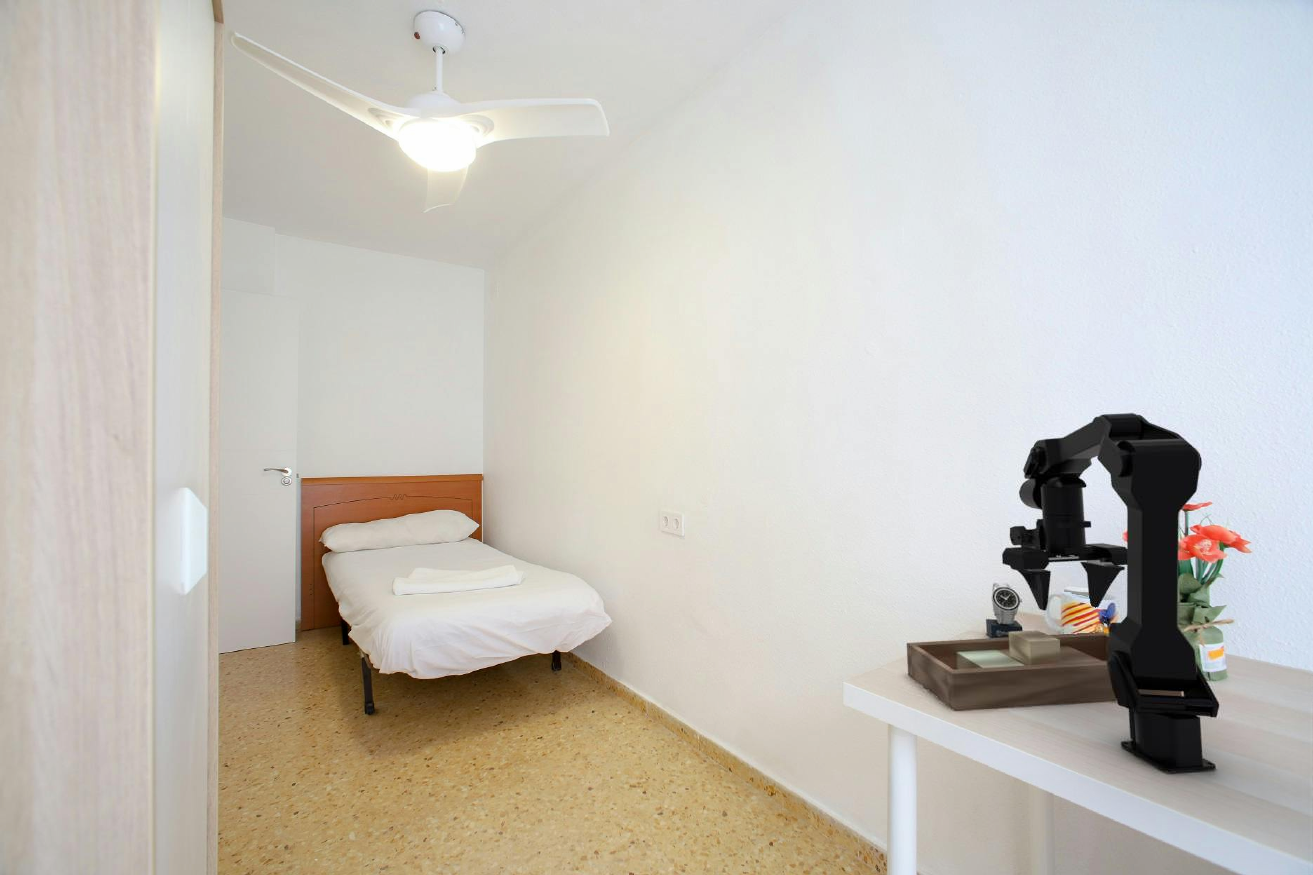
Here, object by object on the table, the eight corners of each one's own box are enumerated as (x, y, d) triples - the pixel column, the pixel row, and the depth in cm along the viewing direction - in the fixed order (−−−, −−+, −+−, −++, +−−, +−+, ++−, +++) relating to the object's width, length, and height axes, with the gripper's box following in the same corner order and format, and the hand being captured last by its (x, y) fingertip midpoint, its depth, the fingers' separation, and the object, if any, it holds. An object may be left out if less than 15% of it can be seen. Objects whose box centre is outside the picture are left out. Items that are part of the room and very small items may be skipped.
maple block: (1061, 664, 91) (1059, 639, 91) (1031, 666, 91) (1029, 641, 91) (1038, 654, 96) (1037, 630, 96) (1009, 655, 96) (1008, 631, 96)
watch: (994, 643, 113) (991, 588, 113) (984, 631, 121) (982, 579, 121) (1026, 645, 111) (1023, 589, 111) (1015, 633, 119) (1012, 580, 119)
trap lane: (1181, 696, 87) (1179, 660, 87) (954, 710, 85) (952, 673, 85) (1104, 663, 101) (1103, 631, 101) (908, 674, 99) (906, 642, 99)
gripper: (1075, 508, 104) (1081, 594, 103) (978, 512, 102) (983, 599, 102) (1131, 513, 93) (1137, 610, 92) (1023, 518, 91) (1029, 616, 91)
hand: (1068, 608), depth 95 cm, fingers open, 9 cm apart
